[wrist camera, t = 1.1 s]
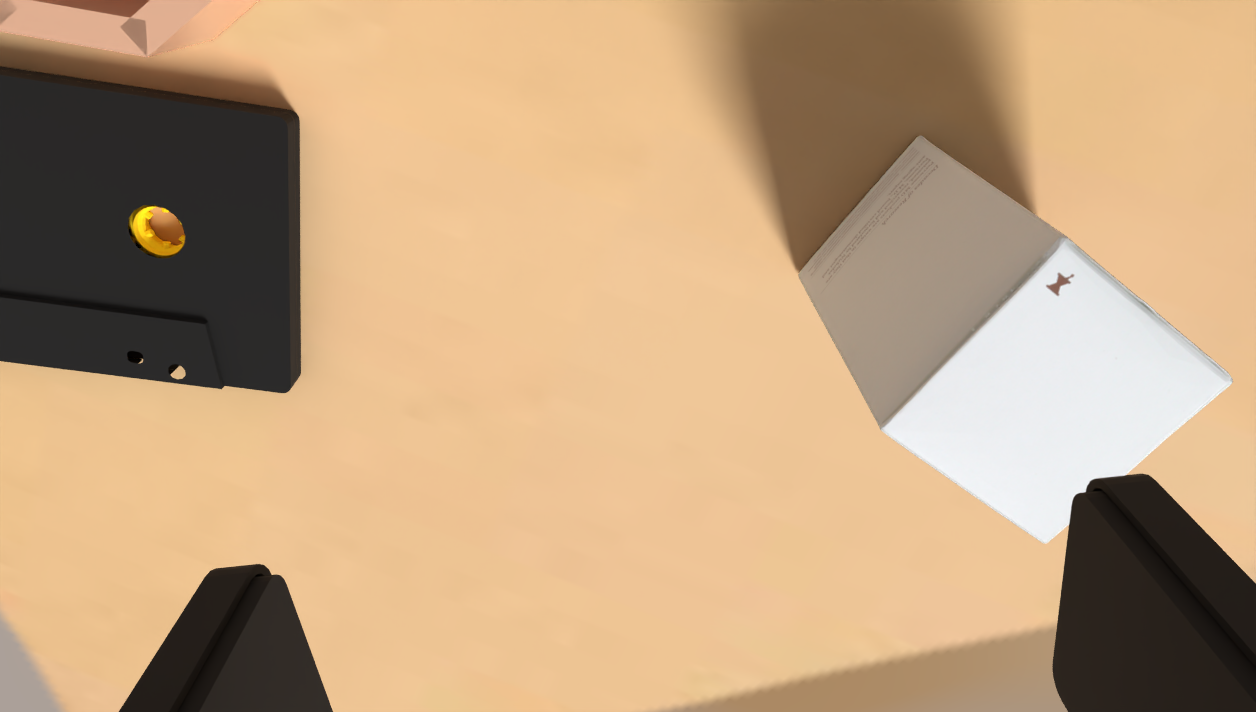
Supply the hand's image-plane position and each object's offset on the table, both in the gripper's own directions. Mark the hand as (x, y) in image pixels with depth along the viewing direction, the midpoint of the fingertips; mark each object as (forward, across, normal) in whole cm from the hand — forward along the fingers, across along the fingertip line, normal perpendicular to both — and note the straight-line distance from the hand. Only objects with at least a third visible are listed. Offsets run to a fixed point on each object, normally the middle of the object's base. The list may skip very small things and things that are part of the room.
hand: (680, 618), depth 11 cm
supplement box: (+26, -11, +6) cm, 29 cm away
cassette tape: (+27, +23, 0) cm, 35 cm away
